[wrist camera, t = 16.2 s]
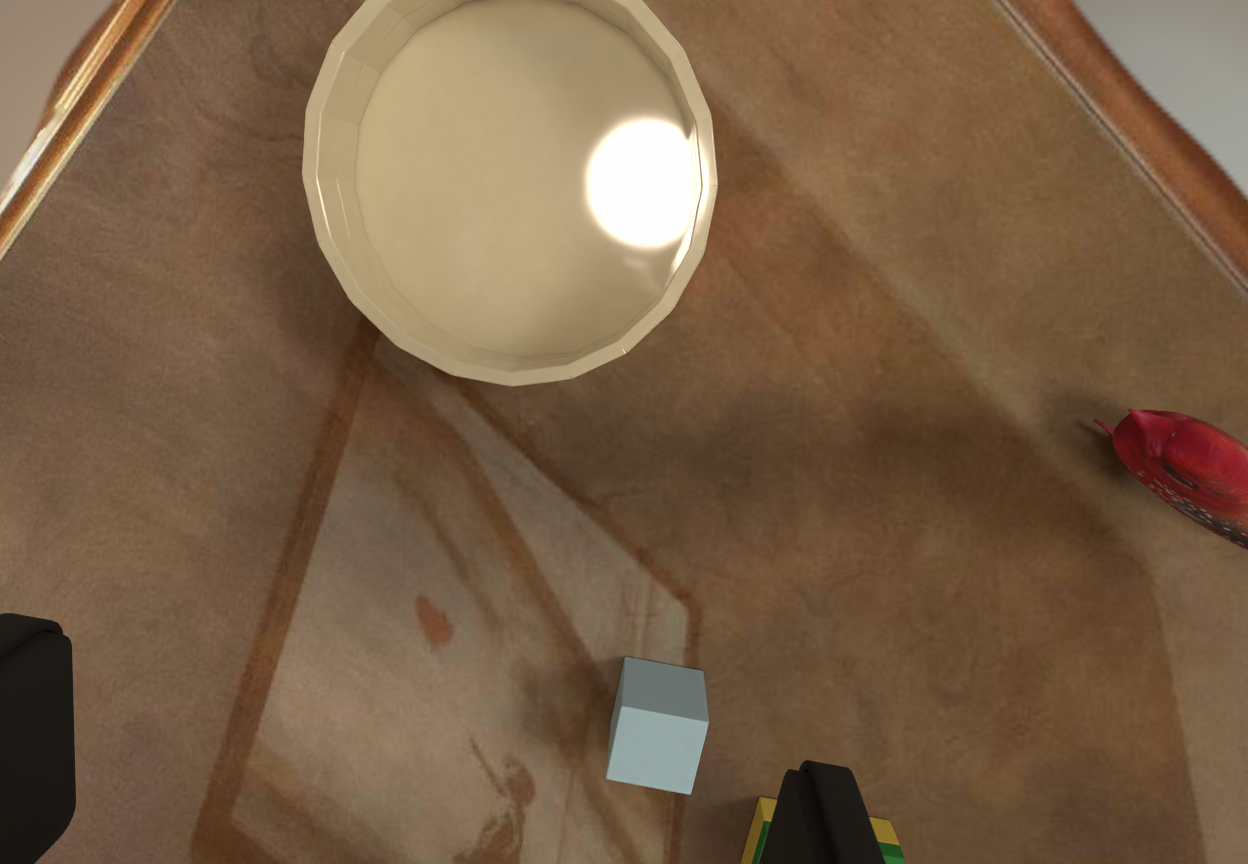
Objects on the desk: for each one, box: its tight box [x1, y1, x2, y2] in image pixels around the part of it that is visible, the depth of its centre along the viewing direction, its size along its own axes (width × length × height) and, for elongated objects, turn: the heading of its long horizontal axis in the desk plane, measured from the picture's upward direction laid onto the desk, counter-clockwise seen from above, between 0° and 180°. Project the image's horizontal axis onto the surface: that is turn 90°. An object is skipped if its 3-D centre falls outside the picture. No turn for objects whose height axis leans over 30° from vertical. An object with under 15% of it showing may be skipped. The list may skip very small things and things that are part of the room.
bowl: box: [302, 0, 718, 387], centre depth 29 cm, size 15×15×4 cm
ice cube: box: [606, 657, 709, 795], centre depth 35 cm, size 4×4×4 cm
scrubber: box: [740, 797, 905, 864], centre depth 38 cm, size 7×4×2 cm, turn 79°
